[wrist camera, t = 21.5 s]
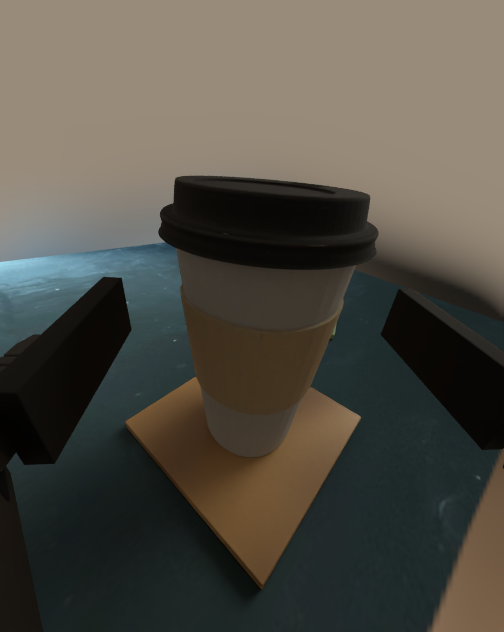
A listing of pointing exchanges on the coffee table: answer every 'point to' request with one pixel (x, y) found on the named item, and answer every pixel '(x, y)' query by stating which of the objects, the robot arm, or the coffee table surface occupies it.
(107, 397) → the coffee table surface
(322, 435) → the cork mat
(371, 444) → the coffee table surface
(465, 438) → the coffee table surface
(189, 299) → the coffee cup
